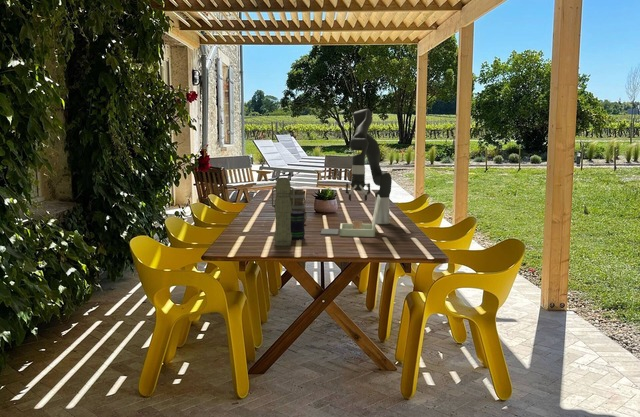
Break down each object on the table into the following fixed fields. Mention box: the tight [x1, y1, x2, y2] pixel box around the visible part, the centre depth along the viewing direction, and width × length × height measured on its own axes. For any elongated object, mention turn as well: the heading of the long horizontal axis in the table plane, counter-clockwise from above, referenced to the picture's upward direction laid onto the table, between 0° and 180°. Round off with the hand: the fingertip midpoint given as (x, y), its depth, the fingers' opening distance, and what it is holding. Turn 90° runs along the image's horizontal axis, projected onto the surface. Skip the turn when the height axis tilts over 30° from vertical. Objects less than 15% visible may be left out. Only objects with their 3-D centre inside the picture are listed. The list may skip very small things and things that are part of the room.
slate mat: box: [320, 228, 340, 236], centre depth 338 cm, size 10×16×1 cm, turn 177°
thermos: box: [271, 177, 296, 247], centre depth 300 cm, size 9×12×35 cm
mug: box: [290, 189, 306, 212], centre depth 425 cm, size 20×14×15 cm
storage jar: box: [291, 211, 306, 241], centre depth 318 cm, size 10×10×15 cm
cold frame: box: [339, 195, 381, 238], centre depth 336 cm, size 23×20×22 cm
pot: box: [351, 220, 363, 229], centre depth 337 cm, size 6×6×7 cm
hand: (357, 200), depth 335 cm, fingers open, 8 cm apart
